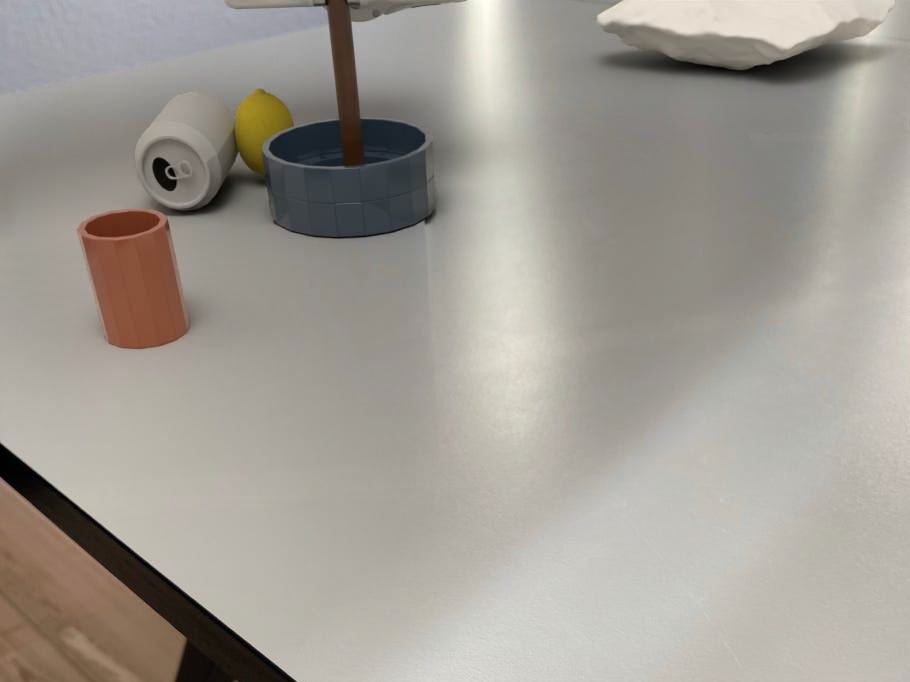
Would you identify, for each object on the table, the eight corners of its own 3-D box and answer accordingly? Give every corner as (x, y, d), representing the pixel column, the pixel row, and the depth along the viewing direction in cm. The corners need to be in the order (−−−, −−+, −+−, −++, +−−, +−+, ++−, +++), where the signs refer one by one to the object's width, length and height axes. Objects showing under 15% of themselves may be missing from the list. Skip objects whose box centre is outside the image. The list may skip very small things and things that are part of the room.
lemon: (236, 177, 106) (221, 86, 101) (292, 168, 108) (280, 77, 102) (251, 194, 102) (236, 100, 97) (309, 184, 104) (298, 91, 99)
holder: (99, 357, 77) (68, 242, 72) (115, 321, 82) (87, 210, 76) (184, 353, 77) (159, 237, 72) (195, 317, 82) (173, 206, 77)
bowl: (266, 248, 92) (254, 172, 88) (279, 190, 103) (269, 121, 99) (438, 239, 92) (434, 163, 88) (434, 183, 103) (430, 113, 99)
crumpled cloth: (931, 70, 122) (946, -27, 118) (612, 81, 121) (615, -16, 117) (859, 56, 142) (870, -28, 138) (585, 65, 142) (587, -18, 137)
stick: (345, 187, 95) (315, -91, 82) (346, 180, 97) (316, -94, 84) (366, 186, 95) (339, -92, 82) (367, 179, 97) (340, -96, 84)
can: (147, 102, 103) (112, 142, 94) (221, 78, 102) (193, 115, 93) (183, 183, 108) (154, 228, 99) (255, 160, 106) (231, 203, 97)
